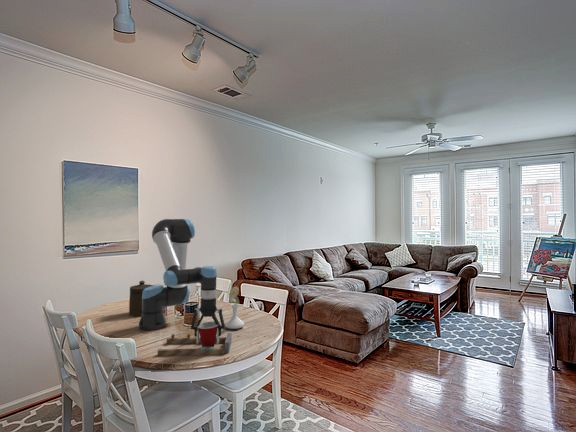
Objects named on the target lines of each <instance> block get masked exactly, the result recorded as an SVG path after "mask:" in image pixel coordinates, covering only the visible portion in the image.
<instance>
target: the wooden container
mask: <svg viewBox="0 0 576 432" xmlns="http://www.w3.org/2000/svg"><path fill="white" fill-rule="evenodd" d="M145 283H146V282H145V281H144V280H140V281H139V282H138V284H137V285H135V284H134V285H131V286H130V287H129V303H128V307H129V310H128V315H129V316H131V317H134V318H135V317H137V318H138V317H140V318H141V316H142V293H143V290H144V289H146V288H148V287H151V286H154V285H153V284H147V283H146V284H145Z"/></svg>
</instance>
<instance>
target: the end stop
mask: <svg viewBox="0 0 576 432" xmlns="http://www.w3.org/2000/svg"><path fill="white" fill-rule="evenodd" d="M225 337H226V340H225V343H224V348H225V354H229V353H230V350H231V345H232V332H227V334H226V336H225Z"/></svg>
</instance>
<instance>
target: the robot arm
mask: <svg viewBox="0 0 576 432" xmlns="http://www.w3.org/2000/svg"><path fill="white" fill-rule="evenodd" d="M195 233H196V230H195V226H194V223H193V221H192V220H191V219H188V218H187V219H185V218H165V219H161V220H160V221H158V222H156V224H155V225H154V226H153V228H152V232H151V238H152V240H153V243H155V244H156V246H157V249H158V251H159V255H160V258H161V261H162V264H163V266H164V269H165V271H164V273H163V276H162V278H163V284H164V285H165V286H166V287H164V285H161V284H159V285H153V286H151V287H148V288H146V289H144V290H143V293H142V316H140V319H139V321H138V322H139V323H138V329H139V330H141V331H157V330H160V329H163V328H165V327H166V325H167V320H166V317H165V313H164V308H167V307H174V306H180V305H184V304H187V302H188V301H189V298H190V292H191V291H190V286H189V285H193V284H200V307H199V308H197V307H196V308H194V309H193V318H192V321H191V324H190V325H191V326H190V330H193V331H194V338H197V343H196V345H198V344H200V343H199V337H200V333H199V330H198V327H199V325H200V324H201V323H202V321H203V319H204V317H205V318H207V317H209V318H212V319H213V322H215V324H216V325H217V324H218V326H217V334H216V336H217V343H216V344H220V343H219V337H222V330H223V329H225V327H226V326H225V321H224V320H225V319H224V316H223V308H222V307H220V308H218V307H217V298H216V297H217V275H218V274H217V267H216V266H214V265H213V266H212V265H206V266H202V267H200V266H197V267H194V268H187V267H186V266H187V256H188V253H187V252H188V245H189V243H191V240H192V239H194V238H195V235H196V234H195ZM186 268H187V269H186ZM199 312H200V314H201V316H200V318H199V320H198V322H196V320H197V317H198V314H199ZM216 312H217V313H218V317H219V319H218V318H217V315H216V314H215V313H216ZM219 320H220V321H219ZM196 323H197V324H196ZM197 326H198V327H197Z"/></svg>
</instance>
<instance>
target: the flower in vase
mask: <svg viewBox="0 0 576 432" xmlns="http://www.w3.org/2000/svg"><path fill="white" fill-rule="evenodd" d="M239 291H240V289H239V287H238V286H237V285H236V286H233V287H232V288H230V291H229V292H228V298H229V299H230V300H232V301H233V302H234V303H230V306H231V308H232V317H230V318H229V319H228V320H227V321H226V322H224V324H225V327H226V329H230V330H235V329H236V330H237V329H241V328H243V327H244V326H245V323H244V321H243V320H241V319H240V318H239V317H238V315H237V312H238V311H237V310H238V307H239V305H240V299H237V298H238V295H239Z"/></svg>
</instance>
